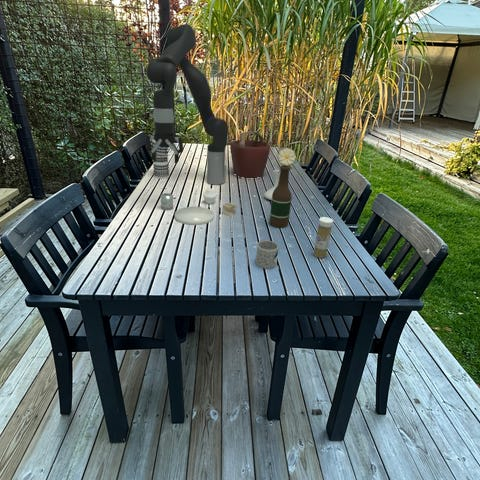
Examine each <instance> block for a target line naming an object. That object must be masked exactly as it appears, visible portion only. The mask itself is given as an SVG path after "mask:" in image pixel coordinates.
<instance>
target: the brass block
mask: <svg viewBox="0 0 480 480" xmlns="http://www.w3.org/2000/svg"><path fill="white" fill-rule="evenodd" d="M236 208H237V204H234V203H231V202H227V203H224V204H222V211H221V212H222V213H221V214H222V215H226V216H229V217H231V216H233V215H236V211H237V210H236Z"/></svg>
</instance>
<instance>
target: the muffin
mask: <svg viewBox="0 0 480 480" xmlns="http://www.w3.org/2000/svg"><path fill="white" fill-rule="evenodd" d="M202 196H203V199H204V201H205V203H206V204H208V205H213V204H214V203H215V201H216V199H217V197H218V196H217V193H216V192H215V190H214V189H213V188H207V189H206V191H205V192H204V193H203V194H202Z"/></svg>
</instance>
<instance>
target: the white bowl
mask: <svg viewBox="0 0 480 480" xmlns="http://www.w3.org/2000/svg"><path fill="white" fill-rule="evenodd" d="M174 219H175V221H176V222H178V223H181V224H183V225H189V226H190V225H191V226H198V225H199V226H200V225H204V224H205V225H206V224H209V223H211V222H213V220H214V219H215V212H214V211H213V210H211V209H209V208H207V207H201V206H185V207H182V208H179V209H177V210H176V211H175V212H174Z"/></svg>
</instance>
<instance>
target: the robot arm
mask: <svg viewBox="0 0 480 480" xmlns="http://www.w3.org/2000/svg"><path fill="white" fill-rule="evenodd" d="M166 39H167V43H168V45H167V47H166V48H165V49H164V50H163V51H162V52H161V54H160V55H159V56H157V57H156V58H154V59H152V60H151V61H150V62H149V63H148V64H147V67H146V77H147V79H148V81H150V82H151V83H152V84H159V85H160V84H161V85H165V87H164V88H163V89H159V90H156V91H154V92H153V95H152V97H153V99H152V100H153V125H154V127H153V129H154V130H155V135H154V136H152V134H148V135H147V136H146V151H147V152H150V153H151V160H152V161H154V162H156V161H157V156H156V150H157V148H158V147H159V146H160V147H162V148H163V147H166V148H168V149H169V148H170V149H171V150H172V151H173V152H174V155H173V156H174V164H178V162H179V161H180V154H182V153H183V152H184V142H183V136H179V137H178V136H175V115H174V106H173V94H174V90H175V89H174V88H175V84H176V80H177V75H178V73H177V68H178V66H179V67H180V69H181V72H182V74H183V76H184V79H185V82H186V85H187V86H188V89H189V92H190V94H191V96H192V99H193V101H194V103H195V106H196V108H197V110H198V113H199V116H200V119H201V123H202V126H203V129H204V131H205V133H206V134H207V135H208V136H210V137H212V142H210V143H209V144H207V148H206V149H207V150H206V152H207V153H206V154H207V155H206V156H207V157H206V158H207V159H206V163H207V164H206V183H207V184H209V185H212V184H214V185H215V186H217V185H218V184H220V185H223V184H225V183H226V181H227V180H226V179H227V178H226V176H227V172H226V171H227V165H226V163H225V160H226V147H227V145H228V144H227V143H228V135H229V132H228V131H229V129H228V123H227V121H226V120H224V119H222V118H218V117H216V116H215V114H214V112H213V109H212V103H211V102H212V91H211V90H212V89H211V87H210V84H209V82H208V78H207V77H206V75H205V74H204V73H203V72H202V71H201V70H200V69H199V68H198V67H196V66H195V65H194V64H193V63H192V62H191V61H190V60H189V59H188V57H187V56H186V55H187V54H188V53H189V52H190V51H191V50H192V49H194V48H195V46H196V45H197V37H196V33H195V29H194V28H193V27H192V26H191V25H190V24H181V25H178V26H174V27H172V28H170V29H168V30H167V31H166ZM154 130H153V131H154ZM153 139H154V140H155V141H156V145H155V146H154V148H152V146H151V145H152V143H151V141H152V140H153ZM175 141H176V142H177V143H178V147H177V146H176V144H175V143H174V142H175ZM154 162H153V163H154ZM224 182H225V183H224ZM222 183H223V184H222ZM214 185H213V186H214Z"/></svg>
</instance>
